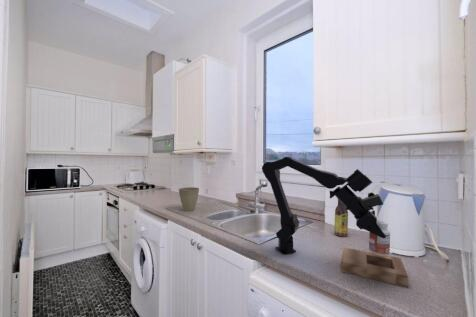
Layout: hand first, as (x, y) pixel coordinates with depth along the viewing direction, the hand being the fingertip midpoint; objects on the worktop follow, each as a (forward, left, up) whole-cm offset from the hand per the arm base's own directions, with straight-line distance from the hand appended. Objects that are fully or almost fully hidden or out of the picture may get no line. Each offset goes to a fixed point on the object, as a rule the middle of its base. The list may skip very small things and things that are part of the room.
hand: (384, 234), depth 77 cm
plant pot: (-114, -48, -13) cm, 124 cm away
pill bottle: (-1, -1, -7) cm, 7 cm away
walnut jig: (-3, -2, -13) cm, 14 cm away
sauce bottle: (-33, +16, -13) cm, 39 cm away
